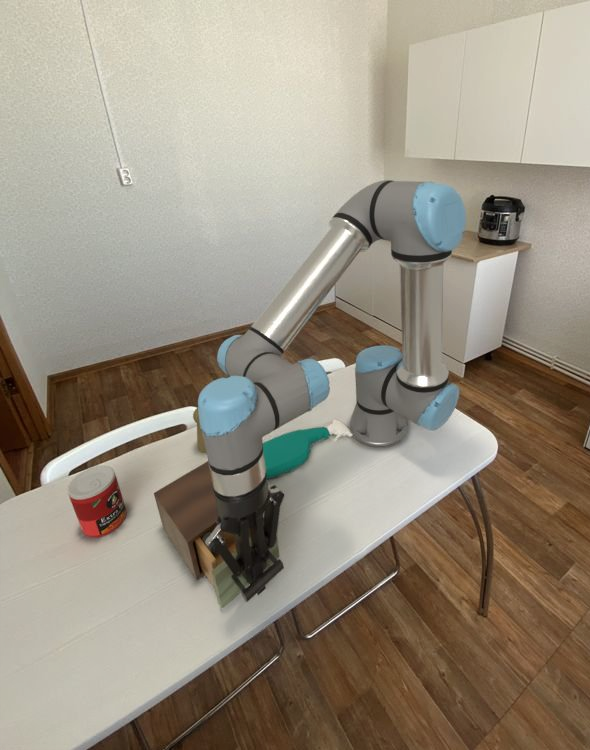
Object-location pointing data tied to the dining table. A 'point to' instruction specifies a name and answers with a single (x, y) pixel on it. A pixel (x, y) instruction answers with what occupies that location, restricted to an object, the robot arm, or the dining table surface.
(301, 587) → the dining table surface
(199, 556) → the drawer
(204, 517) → the cabinet
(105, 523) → the canned food
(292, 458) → the spray bottle
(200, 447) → the cork
